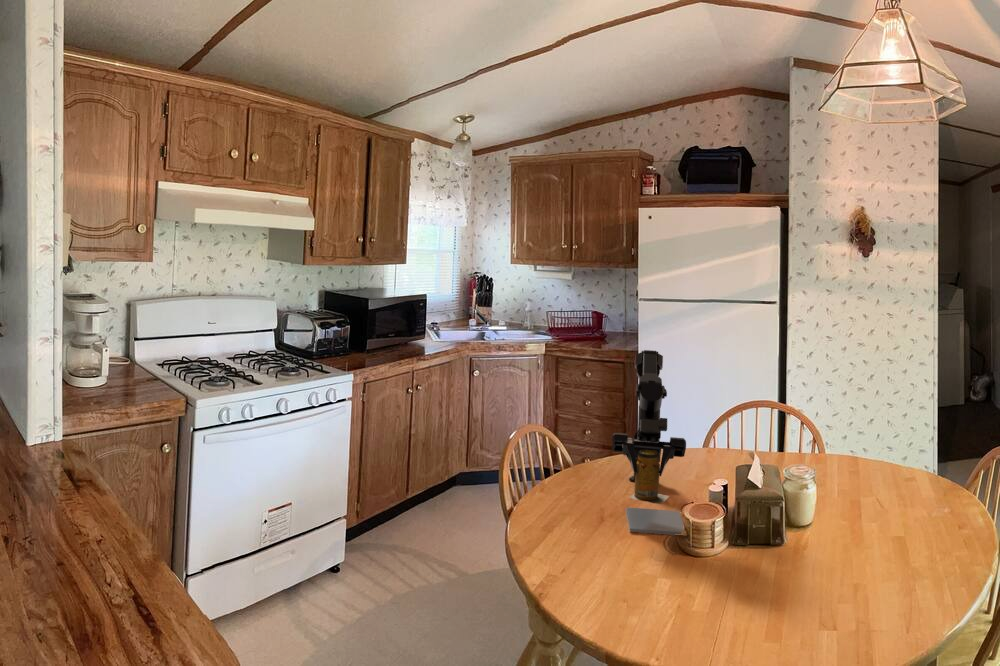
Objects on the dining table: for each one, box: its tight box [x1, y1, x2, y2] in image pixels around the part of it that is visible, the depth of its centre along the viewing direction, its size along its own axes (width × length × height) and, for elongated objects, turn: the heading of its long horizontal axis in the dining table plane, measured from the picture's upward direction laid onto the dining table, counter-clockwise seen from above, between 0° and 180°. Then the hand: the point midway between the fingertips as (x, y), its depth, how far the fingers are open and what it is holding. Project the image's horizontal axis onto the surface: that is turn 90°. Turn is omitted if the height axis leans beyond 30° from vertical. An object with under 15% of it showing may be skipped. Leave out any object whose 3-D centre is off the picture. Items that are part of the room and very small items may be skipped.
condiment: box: [628, 450, 670, 506], centre depth 175 cm, size 7×8×12 cm
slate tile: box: [625, 506, 684, 536], centre depth 176 cm, size 14×14×1 cm
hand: (647, 474), depth 173 cm, fingers closed on condiment, 6 cm apart
